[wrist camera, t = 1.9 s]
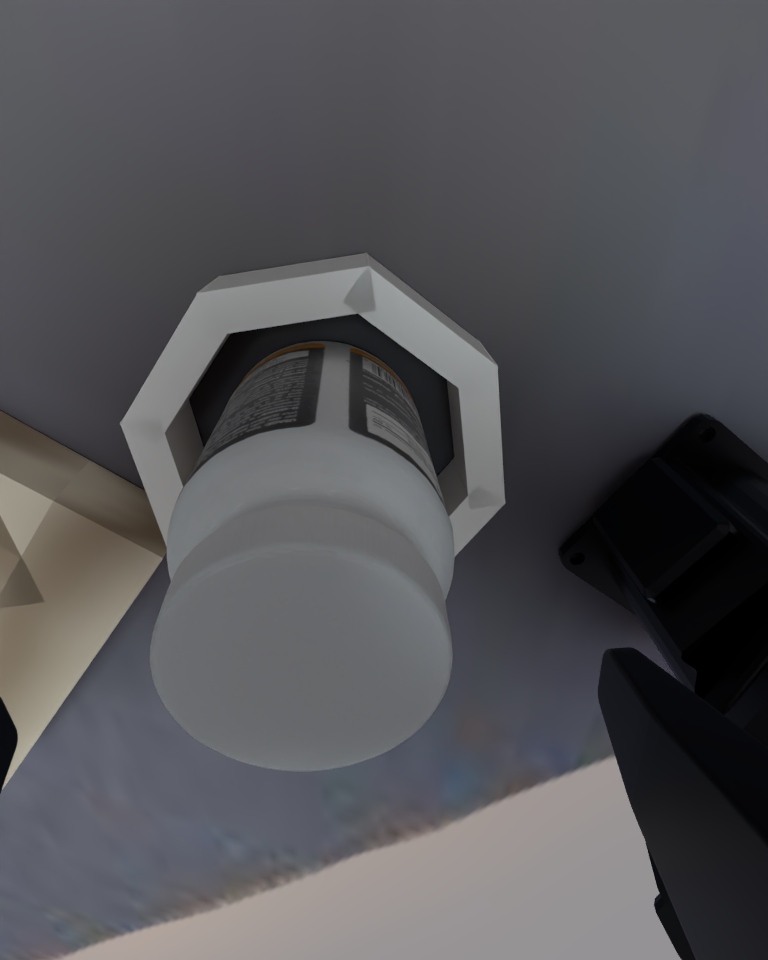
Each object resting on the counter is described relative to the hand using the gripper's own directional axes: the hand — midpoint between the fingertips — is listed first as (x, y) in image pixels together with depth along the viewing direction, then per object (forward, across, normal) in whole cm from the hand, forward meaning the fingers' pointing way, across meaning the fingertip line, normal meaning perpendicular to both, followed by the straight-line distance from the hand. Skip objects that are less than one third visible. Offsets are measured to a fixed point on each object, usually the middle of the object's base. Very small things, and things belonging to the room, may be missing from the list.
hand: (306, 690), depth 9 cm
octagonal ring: (+10, 0, 0) cm, 10 cm away
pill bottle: (+10, 0, 0) cm, 10 cm away
